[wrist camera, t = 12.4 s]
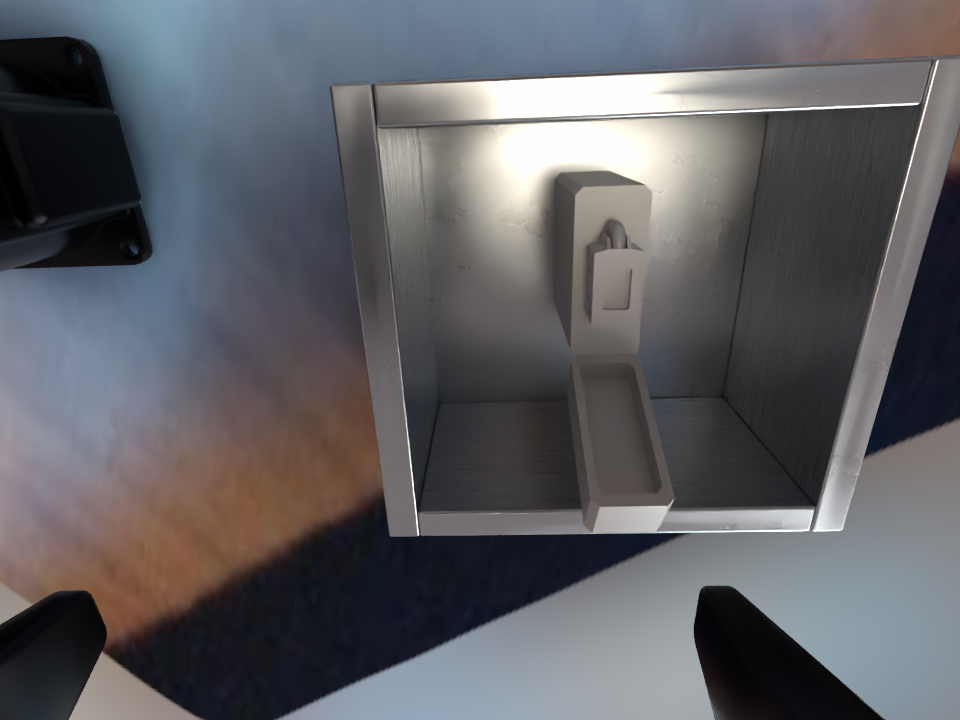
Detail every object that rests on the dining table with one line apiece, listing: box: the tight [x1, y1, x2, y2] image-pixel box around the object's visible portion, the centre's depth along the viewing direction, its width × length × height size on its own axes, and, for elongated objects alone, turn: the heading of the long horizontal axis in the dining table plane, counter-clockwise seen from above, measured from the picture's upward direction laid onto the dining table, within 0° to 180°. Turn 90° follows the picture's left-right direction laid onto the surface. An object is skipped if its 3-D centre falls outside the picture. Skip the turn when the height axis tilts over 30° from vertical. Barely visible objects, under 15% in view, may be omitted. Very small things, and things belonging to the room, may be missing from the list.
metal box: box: [330, 55, 960, 537], centre depth 15 cm, size 12×11×7 cm
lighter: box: [553, 171, 675, 533], centre depth 14 cm, size 7×2×8 cm, turn 2°
